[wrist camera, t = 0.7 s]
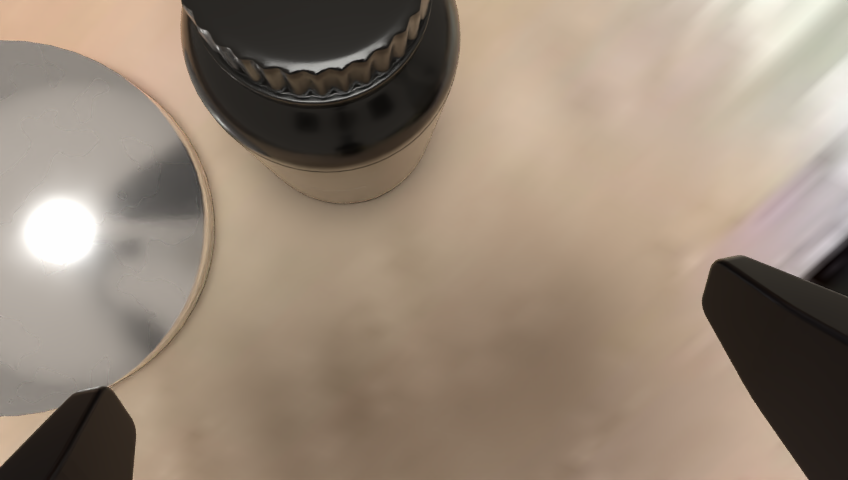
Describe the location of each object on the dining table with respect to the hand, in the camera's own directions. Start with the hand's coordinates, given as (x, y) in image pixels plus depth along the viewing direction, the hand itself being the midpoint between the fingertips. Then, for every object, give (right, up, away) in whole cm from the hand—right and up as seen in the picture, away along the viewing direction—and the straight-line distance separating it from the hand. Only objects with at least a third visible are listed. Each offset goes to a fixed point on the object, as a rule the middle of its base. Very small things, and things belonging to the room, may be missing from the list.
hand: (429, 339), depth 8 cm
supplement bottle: (-3, +6, +14) cm, 15 cm away
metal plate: (-15, +2, +12) cm, 19 cm away
